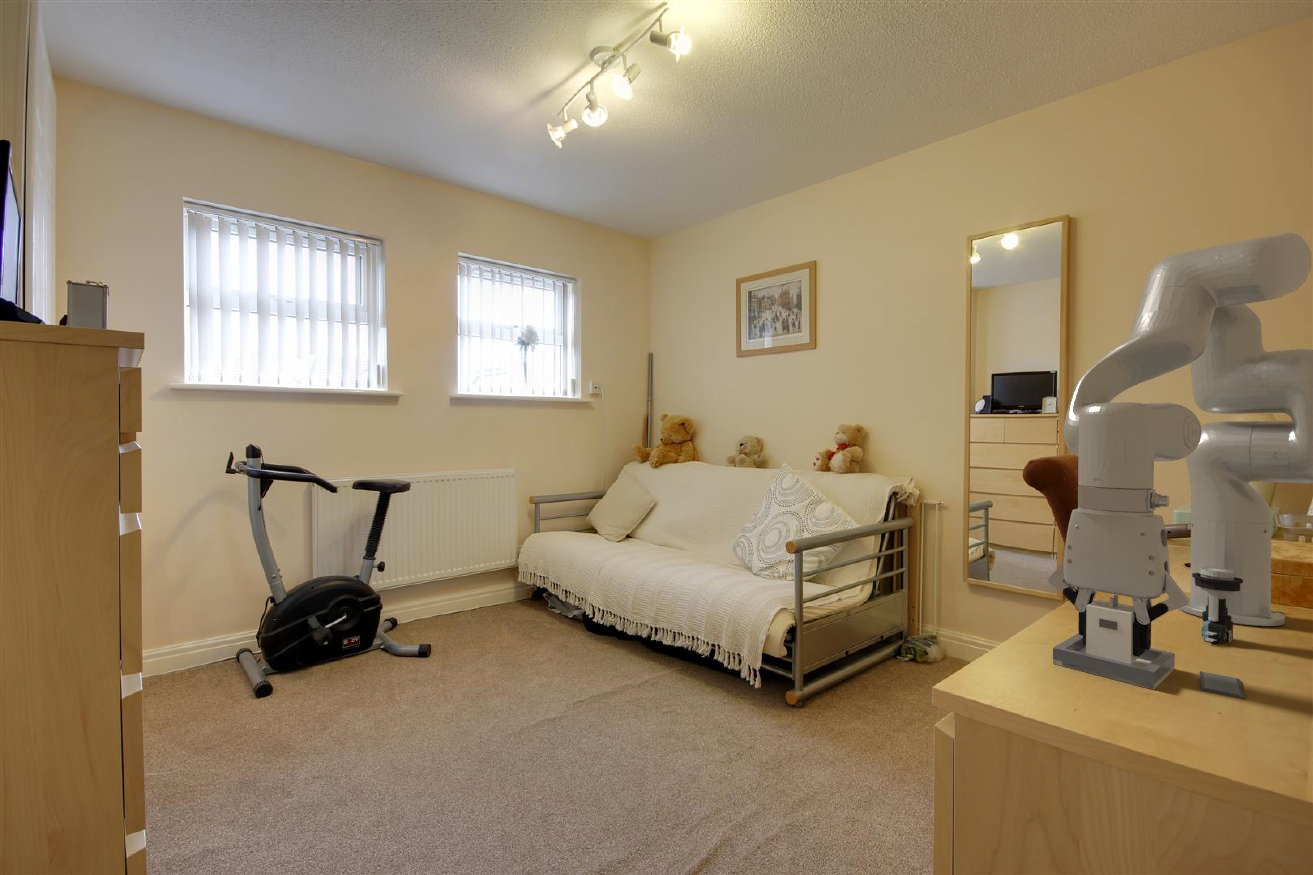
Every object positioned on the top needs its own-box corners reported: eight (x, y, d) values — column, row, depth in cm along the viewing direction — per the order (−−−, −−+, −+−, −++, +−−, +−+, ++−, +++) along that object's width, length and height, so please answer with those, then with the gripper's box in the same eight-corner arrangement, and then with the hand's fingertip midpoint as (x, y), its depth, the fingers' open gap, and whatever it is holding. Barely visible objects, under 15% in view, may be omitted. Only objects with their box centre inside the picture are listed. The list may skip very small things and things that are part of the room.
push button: (1233, 650, 81) (1233, 576, 81) (1182, 639, 86) (1183, 569, 86) (1247, 641, 85) (1248, 571, 85) (1198, 631, 90) (1199, 564, 90)
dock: (1079, 646, 82) (1079, 632, 82) (1174, 669, 74) (1174, 653, 74) (1052, 663, 76) (1053, 647, 76) (1153, 689, 68) (1153, 672, 68)
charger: (1097, 645, 78) (1097, 590, 78) (1140, 655, 75) (1141, 597, 75) (1085, 653, 75) (1086, 595, 75) (1130, 664, 72) (1131, 603, 72)
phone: (1199, 677, 73) (1199, 670, 73) (1239, 685, 71) (1239, 678, 71) (1201, 695, 68) (1201, 687, 68) (1244, 704, 66) (1244, 696, 66)
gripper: (1211, 506, 71) (1210, 661, 71) (1049, 494, 84) (1047, 625, 84) (1198, 510, 66) (1196, 676, 66) (1028, 497, 79) (1027, 636, 79)
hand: (1113, 646), depth 75 cm, fingers closed on charger, 4 cm apart
